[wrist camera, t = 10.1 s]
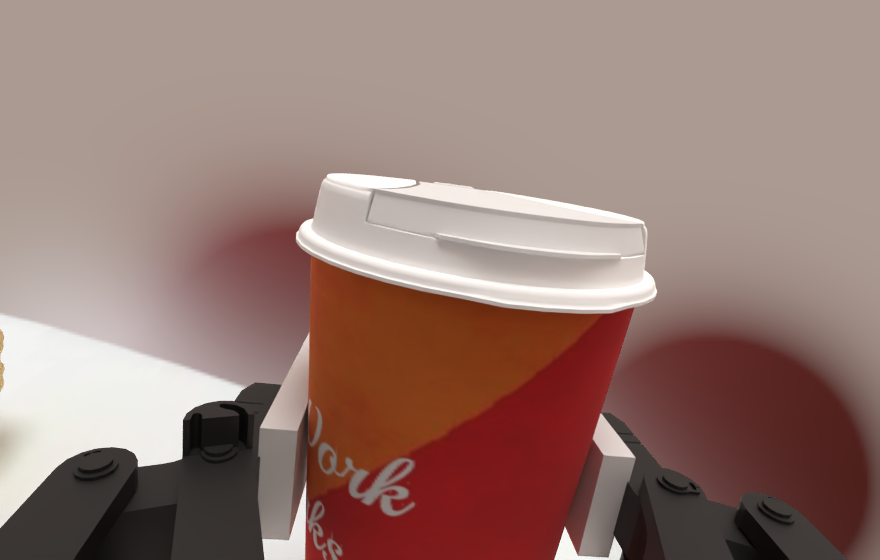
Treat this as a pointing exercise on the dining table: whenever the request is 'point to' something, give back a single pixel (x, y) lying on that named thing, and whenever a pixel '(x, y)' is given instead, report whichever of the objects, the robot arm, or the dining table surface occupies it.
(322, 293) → the paper cup
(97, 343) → the dining table surface
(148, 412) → the dining table surface
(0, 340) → the sculpture
